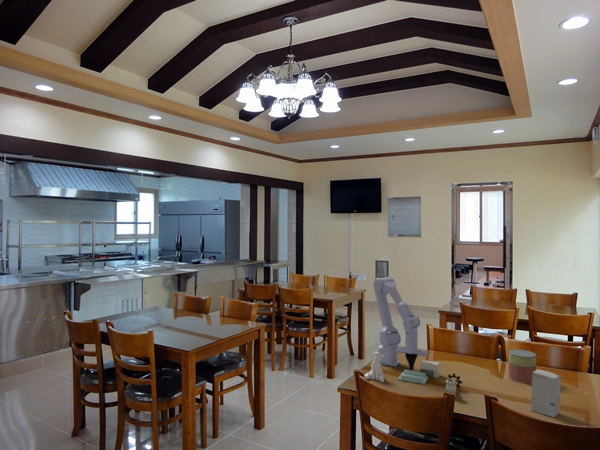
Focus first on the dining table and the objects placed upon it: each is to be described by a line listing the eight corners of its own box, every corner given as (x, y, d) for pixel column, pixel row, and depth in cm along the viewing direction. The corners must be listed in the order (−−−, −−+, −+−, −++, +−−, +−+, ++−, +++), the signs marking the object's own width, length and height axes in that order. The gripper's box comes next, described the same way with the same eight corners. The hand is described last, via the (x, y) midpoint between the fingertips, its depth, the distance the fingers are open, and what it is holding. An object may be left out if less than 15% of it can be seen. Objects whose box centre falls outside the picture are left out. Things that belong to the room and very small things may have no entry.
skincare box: (531, 410, 157) (530, 371, 157) (537, 406, 161) (537, 368, 161) (555, 418, 150) (555, 377, 150) (561, 413, 154) (561, 374, 154)
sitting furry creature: (363, 379, 190) (363, 353, 190) (368, 373, 198) (368, 348, 198) (383, 382, 186) (383, 356, 186) (388, 376, 193) (387, 351, 194)
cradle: (398, 379, 189) (398, 374, 189) (402, 374, 196) (402, 369, 196) (425, 384, 183) (425, 378, 183) (428, 378, 191) (428, 373, 191)
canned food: (535, 376, 192) (534, 351, 192) (537, 385, 182) (537, 358, 182) (508, 373, 197) (507, 348, 197) (509, 381, 186) (508, 355, 186)
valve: (458, 400, 167) (462, 389, 178) (458, 383, 167) (462, 374, 178) (441, 397, 170) (446, 386, 181) (441, 381, 170) (446, 371, 181)
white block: (420, 375, 195) (420, 362, 195) (422, 372, 199) (422, 360, 199) (438, 377, 191) (438, 365, 192) (439, 375, 195) (439, 362, 195)
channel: (419, 375, 194) (419, 369, 194) (422, 371, 200) (422, 364, 200) (433, 378, 191) (433, 371, 191) (435, 373, 197) (435, 366, 197)
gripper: (394, 341, 199) (394, 369, 199) (425, 345, 192) (425, 374, 192) (398, 337, 205) (398, 364, 205) (428, 341, 198) (428, 369, 198)
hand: (411, 369), depth 199 cm, fingers closed
